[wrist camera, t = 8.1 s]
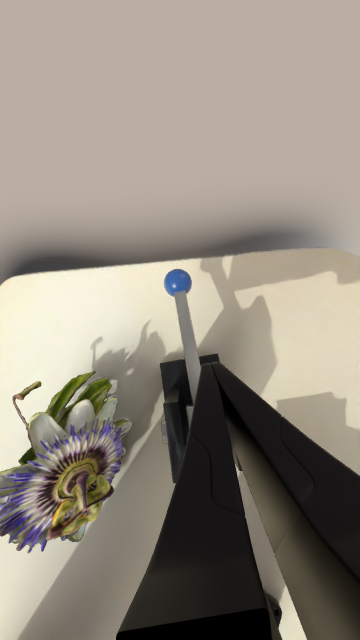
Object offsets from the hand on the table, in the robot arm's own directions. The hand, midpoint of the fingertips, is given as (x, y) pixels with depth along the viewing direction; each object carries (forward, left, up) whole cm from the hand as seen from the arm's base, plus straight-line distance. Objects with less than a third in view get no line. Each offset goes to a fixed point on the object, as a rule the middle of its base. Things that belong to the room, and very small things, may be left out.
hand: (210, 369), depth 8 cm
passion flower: (-12, +7, -14) cm, 20 cm away
